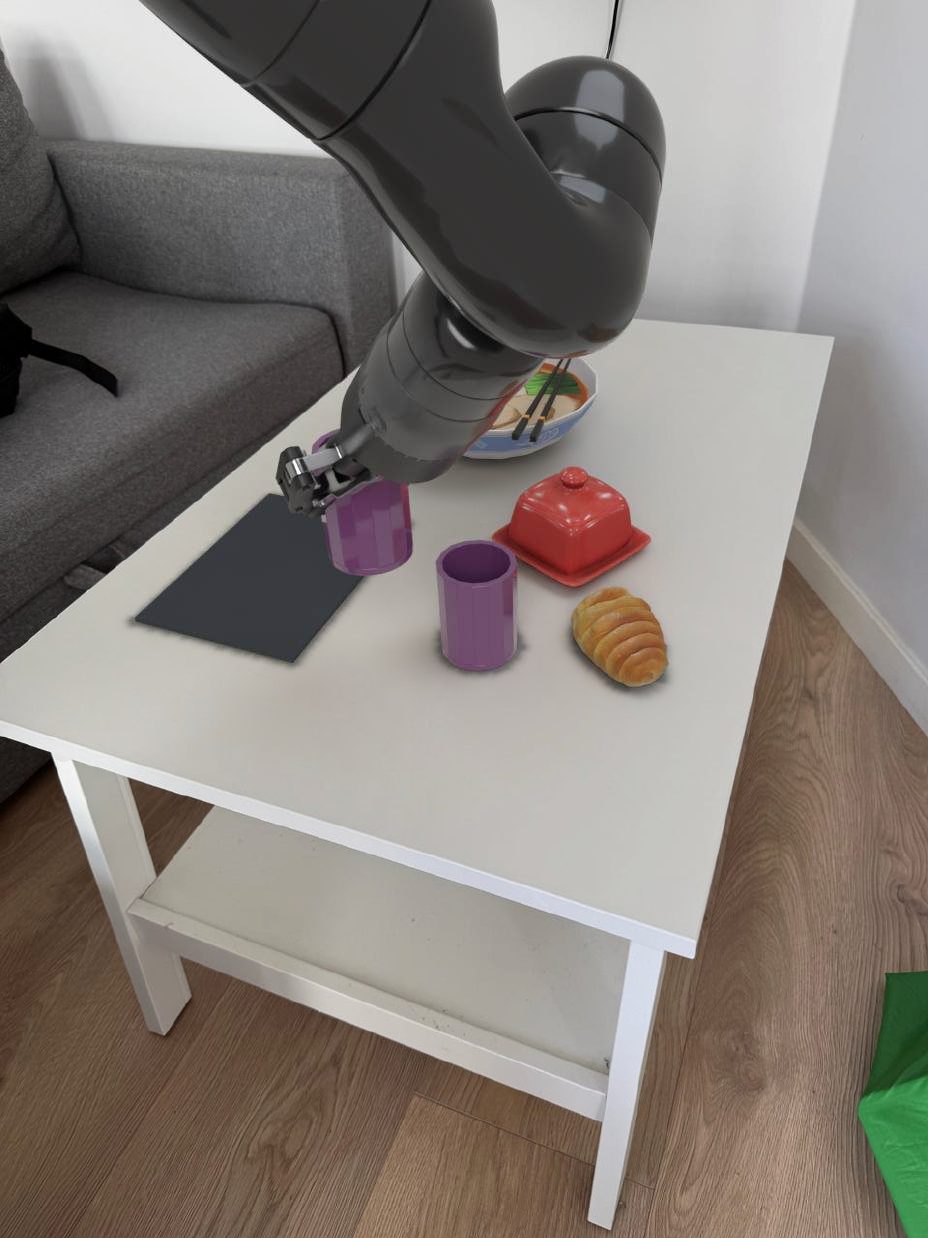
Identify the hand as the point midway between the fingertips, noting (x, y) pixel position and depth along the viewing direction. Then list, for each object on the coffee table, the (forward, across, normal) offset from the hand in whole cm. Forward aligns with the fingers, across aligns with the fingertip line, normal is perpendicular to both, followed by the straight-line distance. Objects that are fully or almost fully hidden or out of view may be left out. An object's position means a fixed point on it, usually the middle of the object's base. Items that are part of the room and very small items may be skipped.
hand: (353, 489), depth 65 cm
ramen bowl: (+29, -28, -6) cm, 41 cm away
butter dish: (+14, -22, +9) cm, 28 cm away
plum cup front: (+2, 0, +4) cm, 5 cm away
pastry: (+4, -17, +19) cm, 26 cm away
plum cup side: (+9, -8, +14) cm, 18 cm away
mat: (+23, +2, 0) cm, 23 cm away
